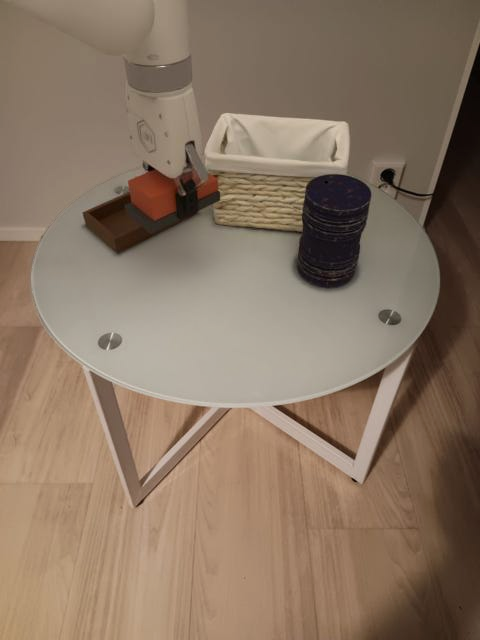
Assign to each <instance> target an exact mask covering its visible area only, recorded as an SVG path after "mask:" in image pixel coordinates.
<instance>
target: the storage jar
mask: <svg viewBox="0 0 480 640" xmlns="http://www.w3.org/2000/svg"><path fill="white" fill-rule="evenodd" d="M372 194H373V193H372V190H371V188H370V187H369V186H368V184H367V183H365V182H364V181H362V180H361V179H360V178H356V177H354V176H351V175H348V174H347V175H342V174H327V175H322V176H318V177H316V178H314V179H312V180H311V181H310V182H309V183H308V184H307V186H306V190H305V199H304V202H303V213H302V223H303V230H302V232H301V235H300V238H299V242H298V249H297V263H296V265H297V266H296V270H297V273H298V275H299V277H300V278H302V280H303V281H304V282H306V283H308V284H309V285H311V286H314V287H317V288H321V289H337V288H341V287H344V286H346V285H347V284H349V283H350V282H351V281H352V280H353V279H354V277H355V274H356V268H357V265H358V262H359V259H360V253H361V238H362V234H363V232H364V230H365V228H366V226H367V220H368V217H369V213H370V204H371V200H372V197H373V196H372Z"/></svg>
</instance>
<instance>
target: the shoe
mask: <svg viewBox="0 0 480 640" xmlns="http://www.w3.org/2000/svg"><path fill="white" fill-rule="evenodd" d="M146 172H147V173H146ZM146 172H145V173H143V174H140V175H138V176H135V177H133V178H131V179H128V180H127V184H128V190H129V191H128V192H130V196H131V203H129V204H126V205H125V210H126V214H127V215H128V216H129V217H130V218H132V219H133V220H134V221H135V222H137V223H138V224H139V225H140V226H141V227H143V228H144V229H145V230H146V231H148V232H149V233H150V234H152V233H154V232H156V231H158V230H160V229H162V228H164V227H166V226H169V225H171V224H173V223H175V222H177V221H179V220H180V219H179V218H178V216H177V207H176V197H175V194H176V193H178V190H177V187H176V184H175V181H174V178H169V177H167V176H166V175H164V174H162V173H161V172H159V171H158V170H156V169H154V170H152V171H150V172H148V171H146ZM207 173H208V175H209V180H207V181H206V182H205V183H204V184H203V185H202V186H201V187H200V188H199V189H198V190H197V194H198V209H199V210H198V212H200V211H201V210H204V209H206V208H208V207H210V206H213V205H212V204H214V203H216V202H218V201H220V191H218V179H217V178H215V177H214V176H212V175H211V174H209V172H207ZM181 176H182V179H183V183H184V184H185V183H186V182H187V181H188V180H190V179H189V175H188V173H186V174H183V175H181Z"/></svg>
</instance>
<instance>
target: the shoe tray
mask: <svg viewBox="0 0 480 640" xmlns="http://www.w3.org/2000/svg"><path fill="white" fill-rule="evenodd" d="M129 203H131V196H130V191H128V192H125V193H123V194H121V195H118V196H115V197H114V198H112V199H109V200H107V201H104V202H103V203H101V204H98V205H96V206H93V207H92V208H89V209H87V210H85V211H83V212H82V217H83V220H84V224H85V227H86V228H87V229H88V230H90V231H91V232H92V233H93V234H95V236H96V237H97V238H98V239H100V240H101V241H102V242H103V243H104V244H106V245H107V246H108V247H109V248H110V249H112V250H113V251H114V252H115V253H116V254H121V253H122V252H124V251H126V250H129V249H130V248H132V247H134V246H136V245H138V244H140V243H142V242H144V241H146V240H149V239H150V238H152V237H154V236H156V235H158V234H160V233H162V232H164V231H166V230H168V229H170V228H172V227H174V226H176V225H178V224H180V223H182V222H184V221H185V220H188V219H189V218H192V217H194V216H196V215H198V212H197V213H196V214H194V215H192V216H189V217H187V218H185V219H183V220H179V221H177V222H175V223H173V224H171V225H169V226H166V227H164V228H162V229H160V230H158V231H156V232H154V233H152V234H150V233H149V232H148V231H146V230H145V229H144V228H143V227H141V226H140V225H139V224H138V223H137V222H135V221H134V220H133V219H132V218H130V217H129V216H128V215H127V214H126V210H125V205H126V204H129Z"/></svg>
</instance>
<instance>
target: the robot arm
mask: <svg viewBox="0 0 480 640" xmlns="http://www.w3.org/2000/svg"><path fill="white" fill-rule="evenodd" d="M1 2H3V3H5V4H8V5H9V6H11V7H14V8H16V9H17V10H19V11H21V12H23V13H24V14H27V15H29V16H31V17H33V18H35V19H37V20H39V21H41V22H42V23H45V24H46V25H48V26H51V27H52V28H54V29H56V30H58V31H60V32H62V33H63V34H66V35H67V36H69V37H72V38H73V39H75V40H77V41H79V42H80V43H83V44H84V45H87V46H88V47H91V48H92V49H93V50H96V51H98V52H99V53H102V54H104V55H107V56H114V57H117V56H118V57H119V56H122V57H123V63H124V69H125V76H126V79H125V80H126V82H125V103H126V104H125V105H126V117H127V118H126V119H127V126H128V127H127V128H128V136H129V142H130V146H131V147H130V148H131V150H132V152H133V153H134V154H135V155H136V156H137V157H138V158H139V159H140V160H142V169H143V170H144V171H145V173H147V172H150V171H152V170H154V169H156V170H158V171H159V172H161V173H162V174H164V175H166V176H167V177H169V178H174V181H175V184H176V187H177V190H178V193H176V194H175V197H176V207H177V216H178V218H179V219H180V220H183V219H185V218H187V217H189V216H192V215H194V214H196V213H197V214H198V213H199V211H198V210H199V209H198V194H197V190H198V189H199V188H200V187H201V186H202V185H203V184H204V183H205V182H206V181H207V180H209V175H208V173H209V172H207V171H208V170H207V169H206V168H205V164H204V163H203V147H202V134H201V126H200V117H199V113H198V106H197V100H196V96H195V91H194V87H192V86H193V84H194V83H193V82H194V81H193V80H194V79H193V65H192V51H191V50H192V49H191V35H190V20H189V4H188V3H189V2H188V0H1ZM185 165H186V166H185ZM186 173H188V175H189V179H190V180H188V181H187V182H186V183H185V184H184V183H183V179H182V176H181V175H183V174H186ZM197 214H196V215H197ZM194 216H195V215H194ZM192 217H193V216H192Z"/></svg>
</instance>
